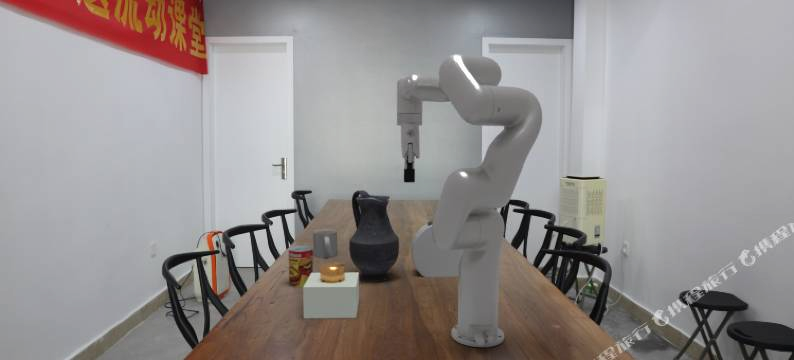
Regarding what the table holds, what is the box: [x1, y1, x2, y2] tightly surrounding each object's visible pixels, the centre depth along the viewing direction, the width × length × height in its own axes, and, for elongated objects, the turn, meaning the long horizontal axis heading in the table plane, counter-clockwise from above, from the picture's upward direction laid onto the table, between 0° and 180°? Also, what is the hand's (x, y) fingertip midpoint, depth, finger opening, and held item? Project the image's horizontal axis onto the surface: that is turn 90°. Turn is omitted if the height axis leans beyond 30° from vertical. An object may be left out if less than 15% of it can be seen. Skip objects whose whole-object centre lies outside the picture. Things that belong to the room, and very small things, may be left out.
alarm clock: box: [410, 219, 464, 278], centre depth 167 cm, size 21×8×20 cm, turn 92°
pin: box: [319, 261, 346, 283], centre depth 131 cm, size 7×7×12 cm
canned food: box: [288, 245, 314, 288], centre depth 155 cm, size 8×8×12 cm
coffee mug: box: [312, 228, 338, 259], centre depth 194 cm, size 13×10×10 cm
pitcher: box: [348, 189, 400, 282], centre depth 163 cm, size 17×21×30 cm
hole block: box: [302, 271, 360, 319], centre depth 131 cm, size 14×14×8 cm
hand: (409, 182), depth 140 cm, fingers closed
